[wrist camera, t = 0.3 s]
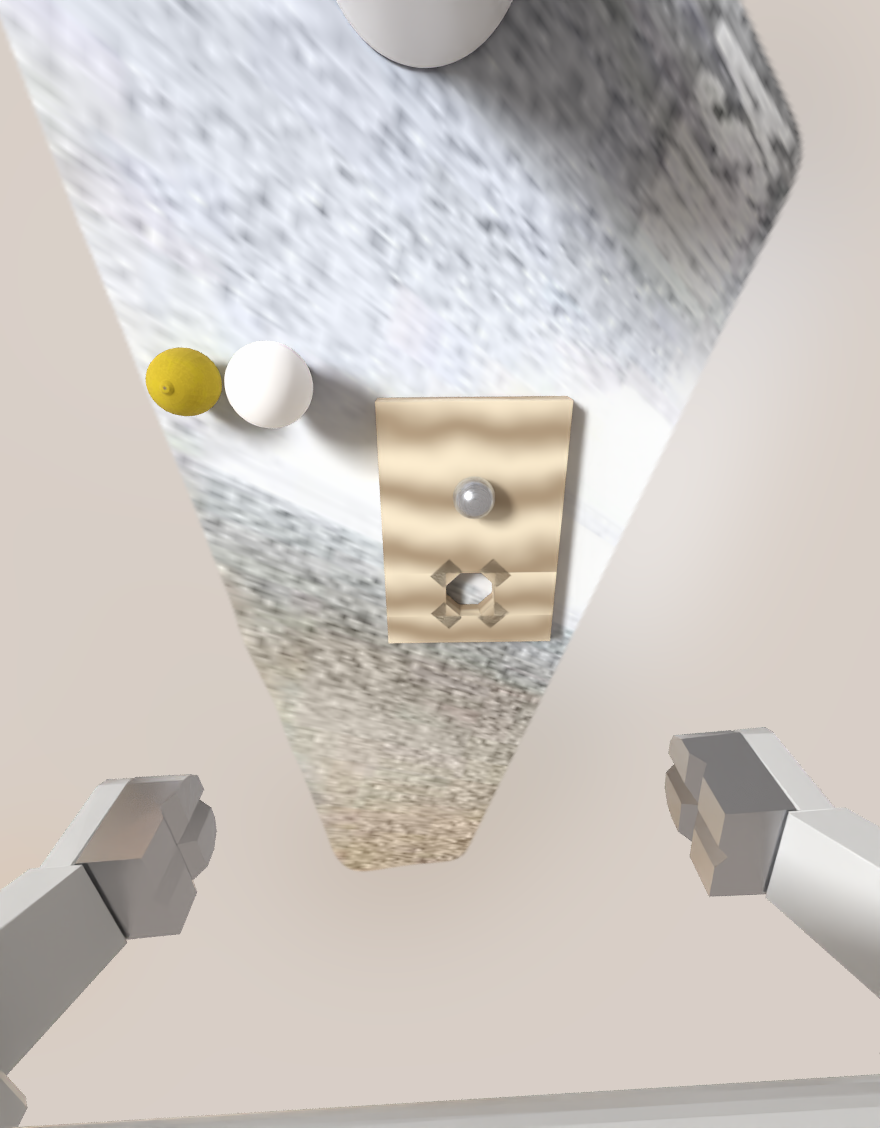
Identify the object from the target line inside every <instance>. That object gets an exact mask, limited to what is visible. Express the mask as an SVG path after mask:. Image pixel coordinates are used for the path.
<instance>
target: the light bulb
mask: <svg viewBox="0 0 880 1128" xmlns="http://www.w3.org/2000/svg"><path fill="white" fill-rule="evenodd" d="M224 383H225V391H226V395H227V397H228V400H229V402H230V404H231V405H232V407H233V408H234V410H235V411H236V412H237V413H238V414H239V415H240V416H241V417H242V418H243V419H245V420H246V421H248V422H249V423H251V424H253V425H256V426H259V427H263V428H271V429H273V428H281V427H285V426H288V425H290V424H292V423H294V422H296V421H297V420H298V419H299V418H301V417H302V416H303V414H304V413H305V412H306V410H307V409H308V407H309V405H310V403H311V400H312V396H313V381H312V376H311V373H310V370H309V368H308V366H307V365H306V363H305V361H304V360H303V359H302V358H301V356H300V355H299V354H298V353H296V352H295V351H294V350H293V349H291V348H290V347H288V346H286V345H284V344H281V343H278V342H272V341H257V342H254V343H250V344H248V345H246V346H244V347H243V348H241V349H239V350H238V351H237V352H236V353H235V354H234V355H233V357H232V358H231V360H230V362H229V363H228V366H227V369H226V371H225V378H224Z"/></svg>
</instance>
